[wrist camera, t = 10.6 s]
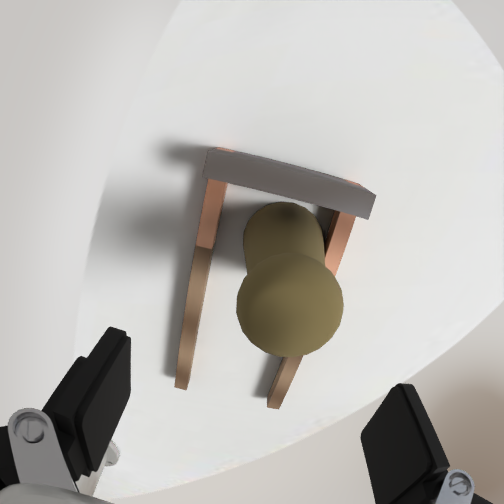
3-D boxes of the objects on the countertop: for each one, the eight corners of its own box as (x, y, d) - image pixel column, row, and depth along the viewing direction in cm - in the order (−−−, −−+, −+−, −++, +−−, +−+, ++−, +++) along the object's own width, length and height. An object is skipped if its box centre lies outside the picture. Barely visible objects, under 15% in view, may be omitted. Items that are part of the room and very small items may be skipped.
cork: (228, 253, 25) (200, 342, 14) (269, 186, 23) (269, 236, 12) (294, 290, 26) (307, 390, 15) (338, 229, 23) (385, 305, 13)
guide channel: (278, 398, 30) (278, 428, 27) (177, 376, 30) (168, 405, 26) (359, 184, 22) (376, 195, 18) (218, 147, 22) (207, 151, 18)
